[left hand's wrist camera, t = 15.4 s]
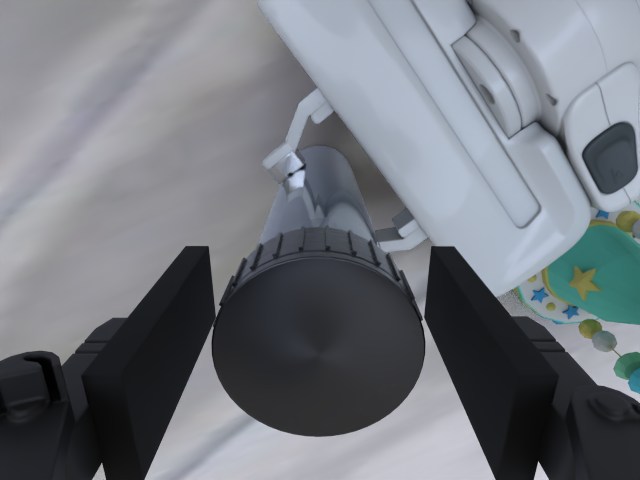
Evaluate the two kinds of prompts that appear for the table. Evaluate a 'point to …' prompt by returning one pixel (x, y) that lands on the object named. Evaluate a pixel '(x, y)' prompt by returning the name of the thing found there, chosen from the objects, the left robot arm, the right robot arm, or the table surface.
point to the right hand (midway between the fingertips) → (306, 215)
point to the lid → (318, 333)
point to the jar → (320, 197)
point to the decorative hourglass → (595, 284)
